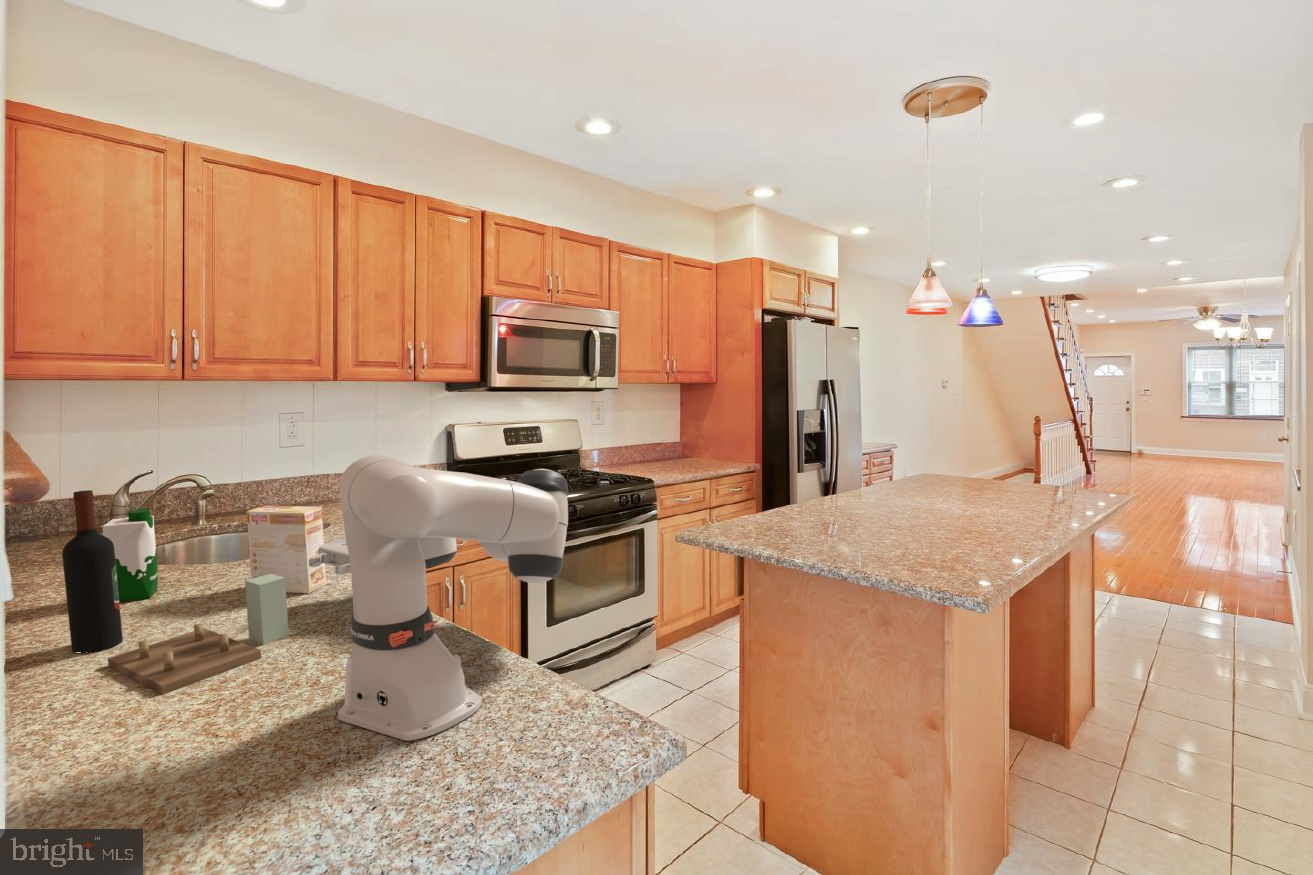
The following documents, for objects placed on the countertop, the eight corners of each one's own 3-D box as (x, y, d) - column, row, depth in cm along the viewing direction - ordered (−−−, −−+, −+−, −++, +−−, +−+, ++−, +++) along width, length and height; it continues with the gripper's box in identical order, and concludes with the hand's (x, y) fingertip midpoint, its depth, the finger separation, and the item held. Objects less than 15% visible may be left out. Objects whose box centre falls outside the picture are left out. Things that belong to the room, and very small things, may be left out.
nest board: (261, 657, 125) (259, 634, 124) (162, 694, 111) (160, 668, 111) (205, 635, 135) (203, 613, 134) (108, 666, 121) (106, 642, 121)
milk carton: (154, 599, 155) (146, 513, 153) (104, 605, 151) (96, 517, 149) (163, 587, 163) (156, 506, 161) (116, 593, 159) (108, 509, 157)
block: (288, 636, 134) (285, 577, 133) (263, 645, 130) (259, 584, 129) (274, 631, 137) (270, 573, 136) (249, 639, 133) (244, 580, 131)
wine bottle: (64, 648, 129) (48, 493, 125) (111, 634, 135) (97, 486, 132) (83, 656, 125) (67, 497, 122) (130, 641, 132) (116, 490, 128)
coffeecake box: (327, 584, 165) (323, 506, 163) (308, 594, 158) (303, 512, 156) (271, 581, 168) (266, 504, 165) (250, 591, 161) (245, 510, 158)
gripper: (410, 572, 150) (354, 590, 138) (353, 557, 161) (297, 573, 149) (410, 544, 149) (353, 560, 138) (352, 531, 160) (295, 545, 148)
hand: (323, 566), depth 143 cm, fingers open, 8 cm apart
